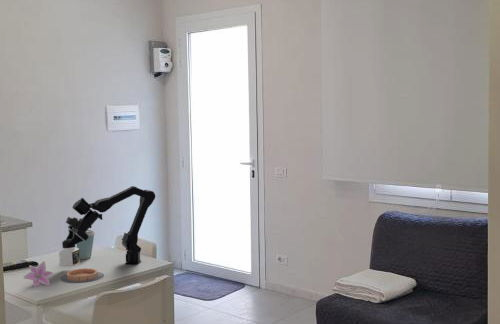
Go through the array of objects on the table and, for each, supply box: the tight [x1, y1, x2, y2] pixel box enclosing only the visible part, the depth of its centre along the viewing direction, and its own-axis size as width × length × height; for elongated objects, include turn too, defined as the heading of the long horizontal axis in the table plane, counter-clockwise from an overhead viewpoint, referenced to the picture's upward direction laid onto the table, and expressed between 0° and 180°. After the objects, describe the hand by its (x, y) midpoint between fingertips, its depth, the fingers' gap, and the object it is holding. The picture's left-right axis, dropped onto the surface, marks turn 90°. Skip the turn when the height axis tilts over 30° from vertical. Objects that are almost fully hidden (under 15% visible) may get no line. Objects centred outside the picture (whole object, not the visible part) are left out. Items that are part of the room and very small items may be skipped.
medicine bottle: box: [58, 239, 81, 267], centre depth 291 cm, size 7×7×12 cm
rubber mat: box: [59, 271, 105, 284], centre depth 281 cm, size 20×20×1 cm
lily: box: [23, 261, 53, 288], centre depth 270 cm, size 12×12×10 cm
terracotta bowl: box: [66, 267, 99, 281], centre depth 281 cm, size 14×14×2 cm
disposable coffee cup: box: [76, 229, 96, 260], centre depth 320 cm, size 11×11×15 cm
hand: (66, 245), depth 290 cm, fingers closed on medicine bottle, 6 cm apart
